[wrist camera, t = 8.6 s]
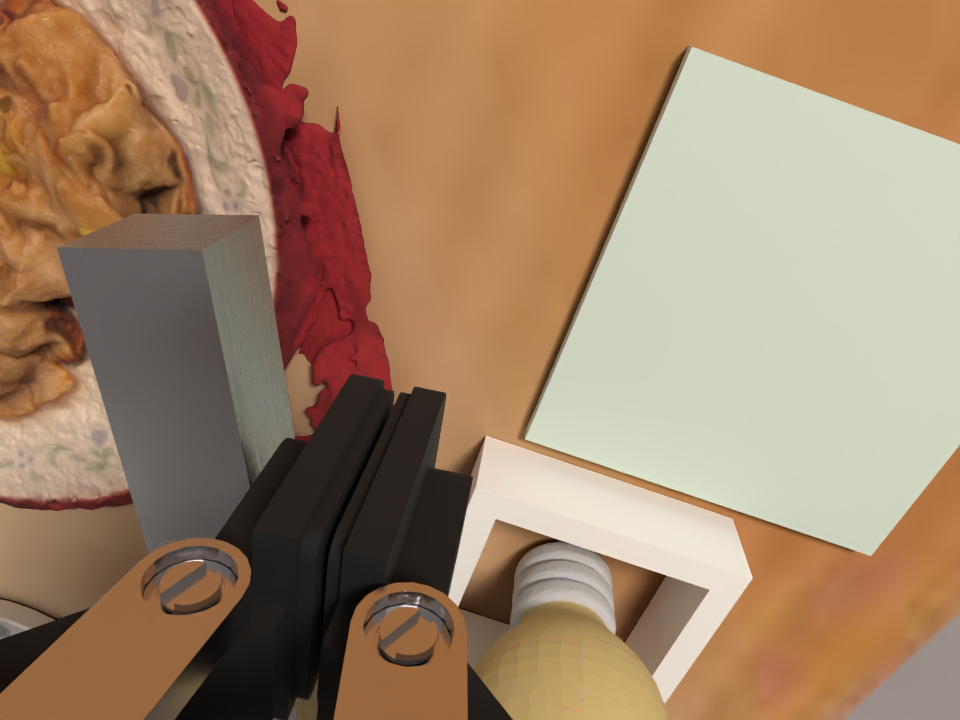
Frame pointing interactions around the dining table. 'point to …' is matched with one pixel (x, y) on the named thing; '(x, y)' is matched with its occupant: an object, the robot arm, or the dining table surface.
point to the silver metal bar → (184, 365)
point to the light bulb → (567, 645)
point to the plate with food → (156, 206)
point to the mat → (772, 310)
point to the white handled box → (609, 549)
